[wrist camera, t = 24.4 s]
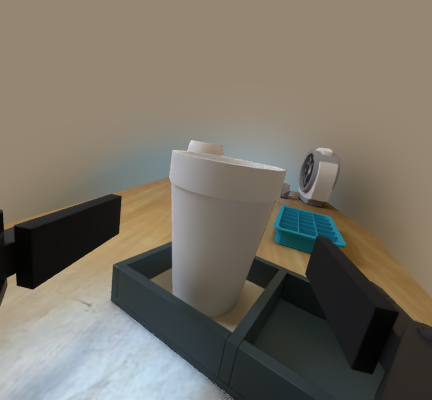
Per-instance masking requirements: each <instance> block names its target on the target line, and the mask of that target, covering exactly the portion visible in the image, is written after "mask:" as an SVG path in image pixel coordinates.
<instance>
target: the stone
mask: <svg viewBox="0 0 432 400" xmlns="http://www.w3.org/2000/svg"><path fill="white" fill-rule="evenodd" d="M289 187H290V185H288V184H286V183H283V187H282V191H281V195H280V197H283V198H286V197H287V196H288V195H289V193H290V190H289Z"/></svg>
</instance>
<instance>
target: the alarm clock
mask: <svg viewBox="0 0 432 400" xmlns="http://www.w3.org/2000/svg"><path fill="white" fill-rule="evenodd" d="M339 172H340V159H339V157H338V155H337V154H334V153H333V152H332V151H331V149H325V148H318V149H317V150H311V151H310V152H309V153H308V154H307V156H306V157H305V159H304V162H303V164H302V167H301V172H300V177H299V192H300V197H299V198H300V199H301V200H303V201H304V202H305V203H306V204H310V205H315V206H320V207H322V204H323V202H327V201H328V199H329V196H330V194H331V191H332V190H333V188H334V186H335V184H336V182H337V179H338V175H339Z"/></svg>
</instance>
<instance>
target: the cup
mask: <svg viewBox="0 0 432 400" xmlns="http://www.w3.org/2000/svg"><path fill="white" fill-rule="evenodd" d="M188 151H190V152H198V153H205V154H211V155H217V156H223V146H222V145H217V144H211V143H205V142H199V141H193V140H191V142H190V144H189V147H188Z"/></svg>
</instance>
